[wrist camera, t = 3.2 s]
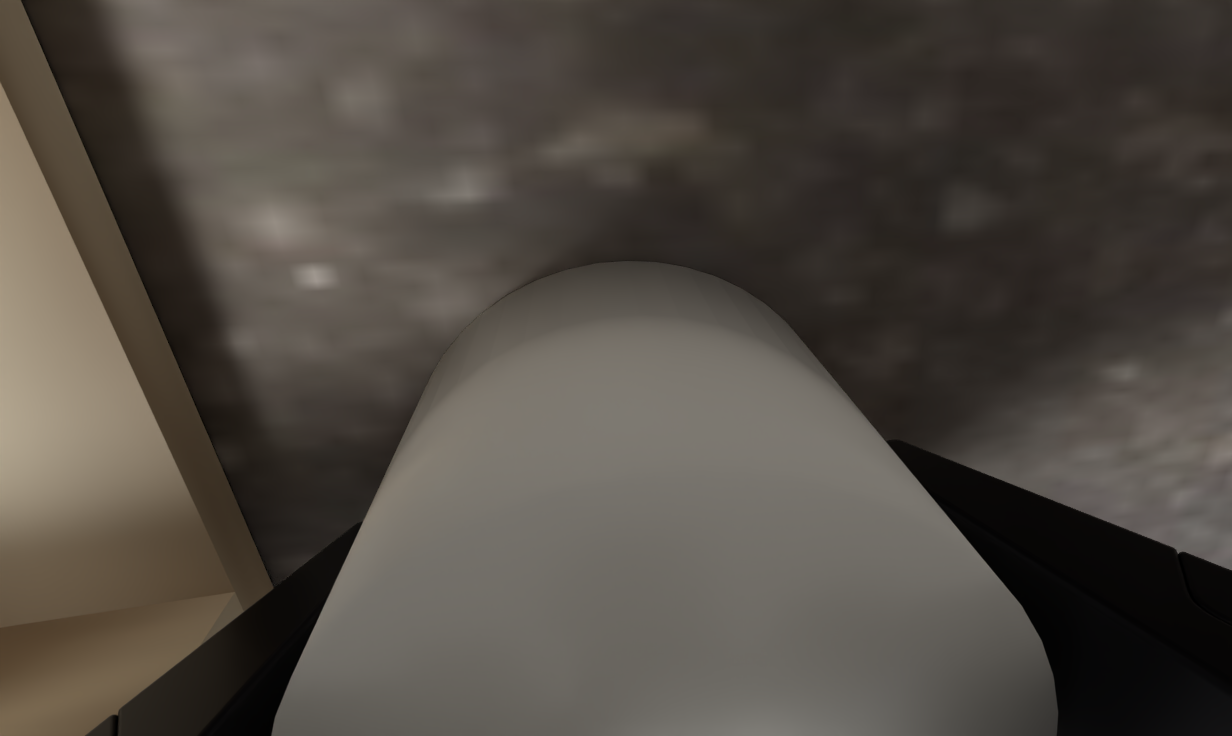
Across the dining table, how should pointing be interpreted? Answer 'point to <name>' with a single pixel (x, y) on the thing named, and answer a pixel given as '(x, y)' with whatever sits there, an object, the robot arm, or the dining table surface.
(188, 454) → the dish rack
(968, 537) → the robot arm
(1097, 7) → the dining table surface
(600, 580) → the white rounded cylinder
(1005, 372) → the dining table surface
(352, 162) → the dining table surface
